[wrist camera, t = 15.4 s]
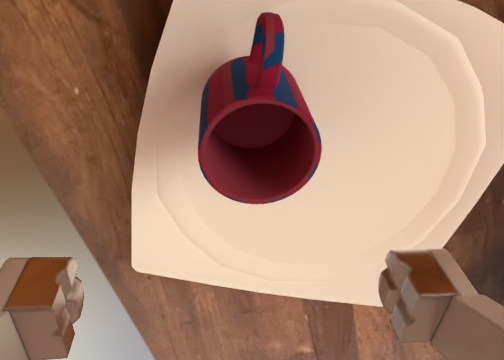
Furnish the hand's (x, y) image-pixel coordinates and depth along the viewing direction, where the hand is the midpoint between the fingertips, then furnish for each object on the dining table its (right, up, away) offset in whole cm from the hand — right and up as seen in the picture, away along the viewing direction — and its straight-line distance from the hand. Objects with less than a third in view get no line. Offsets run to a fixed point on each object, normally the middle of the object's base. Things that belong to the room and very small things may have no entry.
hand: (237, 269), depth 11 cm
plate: (+6, +4, +23) cm, 24 cm away
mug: (+1, +9, +16) cm, 19 cm away
